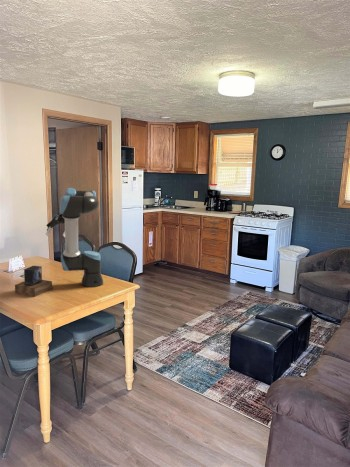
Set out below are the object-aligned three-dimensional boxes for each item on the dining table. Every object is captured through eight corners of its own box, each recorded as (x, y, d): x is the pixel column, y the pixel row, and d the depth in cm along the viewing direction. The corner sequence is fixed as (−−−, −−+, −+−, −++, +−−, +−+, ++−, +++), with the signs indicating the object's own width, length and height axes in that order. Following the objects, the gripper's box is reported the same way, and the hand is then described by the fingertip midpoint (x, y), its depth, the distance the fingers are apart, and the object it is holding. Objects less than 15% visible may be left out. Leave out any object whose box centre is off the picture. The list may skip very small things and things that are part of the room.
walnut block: (52, 289, 229) (52, 281, 228) (35, 297, 215) (34, 288, 214) (33, 286, 235) (32, 278, 234) (15, 293, 220) (14, 284, 219)
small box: (33, 286, 218) (32, 270, 216) (24, 285, 219) (23, 269, 217) (42, 281, 228) (42, 266, 226) (34, 280, 229) (33, 265, 228)
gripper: (82, 217, 259) (72, 239, 247) (53, 215, 264) (42, 237, 252) (79, 210, 253) (68, 233, 241) (49, 208, 258) (37, 231, 246)
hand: (55, 235), depth 246 cm, fingers open, 13 cm apart
